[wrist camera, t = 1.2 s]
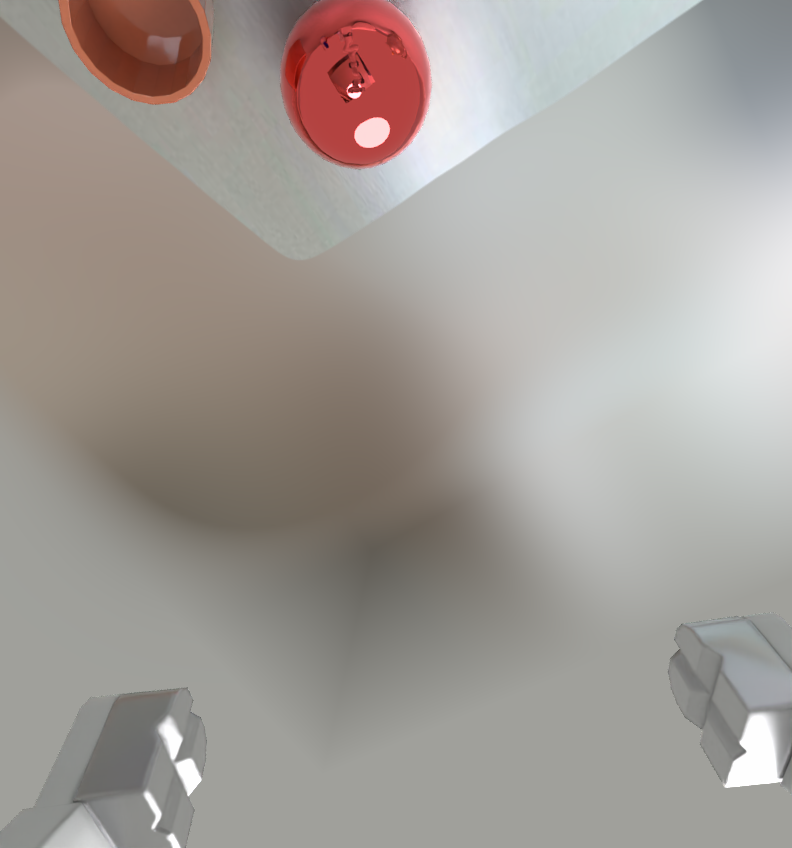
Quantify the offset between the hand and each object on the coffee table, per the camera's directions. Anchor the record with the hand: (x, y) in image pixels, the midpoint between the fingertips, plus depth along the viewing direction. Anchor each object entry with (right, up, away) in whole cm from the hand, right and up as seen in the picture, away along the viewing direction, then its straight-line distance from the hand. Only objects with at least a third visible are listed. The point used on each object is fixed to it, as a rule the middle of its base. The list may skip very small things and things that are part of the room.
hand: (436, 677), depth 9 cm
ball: (-5, +36, +38) cm, 53 cm away
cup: (-20, +37, +33) cm, 53 cm away
